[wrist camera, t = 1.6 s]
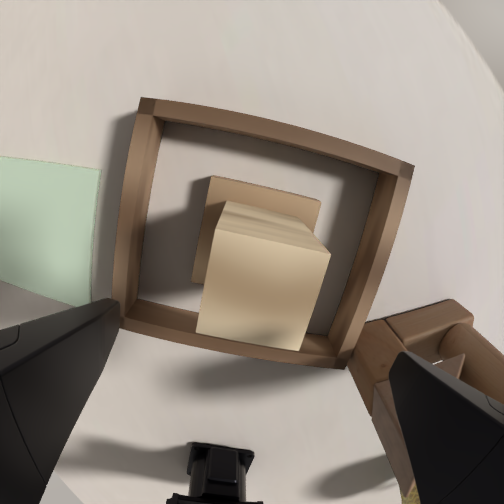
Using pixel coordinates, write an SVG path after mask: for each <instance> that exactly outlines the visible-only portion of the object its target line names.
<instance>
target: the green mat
mask: <svg viewBox="0 0 504 504" xmlns="http://www.w3.org/2000/svg"><path fill="white" fill-rule="evenodd" d="M100 177H101V170H99V169H93V168H86V167H79V166H73V165H66V164H59V163H51V162H44V161H36V160H28V159H20V158H11V157H2V156H0V280H1V281H4V282H6V283H9V284H12V285H14V286H17V287H20V288H22V289H25V290H28V291H31V292H33V293H36V294H39V295H42V296H45V297H48V298H51V299H54V300H57V301H60V302H63V303H66V304H69V305H72V306H75V307H78V306H82V305H85V304H88V303H91V269H92V251H93V237H94V226H95V216H96V207H97V198H98V191H99V183H100Z"/></svg>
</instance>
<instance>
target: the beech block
mask: <svg viewBox="0 0 504 504" xmlns="http://www.w3.org/2000/svg"><path fill="white" fill-rule="evenodd" d="M330 257H331V254H330V252H329V251H328V250H327V249H326V248H325V247H324V246H323V244H322V243H321V242H320V241H319V240H318V239H317V238H316V236H315V235H314V234H313V233H312V232H311V231H310V230H309V229H308V228H307V226H306V225H305V224H304V223H303V222H302V221H301V220H300V219H299V218H298V217H297V216H293V215H289V214H285V213H280V212H276V211H272V210H267V209H263V208H259V207H254V206H250V205H245V204H241V203H236V202H231V201H226V204H225V206H224V209H223V211H222V214H221V216H220V219H219V221H218V224H217V226H216V229H215V233H214V238H213V243H212V248H211V253H210V258H209V263H208V268H207V273H206V278H205V284H204V289H203V294H202V300H201V305H200V311H199V316H198V322H197V328H196V333H200V334H205V335H210V336H215V337H220V338H225V339H230V340H235V341H241V342H246V343H252V344H257V345H263V346H269V347H275V348H282V349H288V350H295V351H299V349H300V347H301V344H302V341H303V338H304V335H305V333H306V330H307V327H308V324H309V321H310V318H311V315H312V312H313V310H314V307H315V304H316V301H317V298H318V295H319V291H320V288H321V285H322V282H323V279H324V276H325V273H326V270H327V266H328V263H329V260H330Z"/></svg>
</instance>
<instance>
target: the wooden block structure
mask: <svg viewBox="0 0 504 504" xmlns="http://www.w3.org/2000/svg"><path fill="white" fill-rule="evenodd" d="M473 321H474V316H473V314H472V313H470V312H469V311H468V310H467V309H465V308H464V307H463V306H462V305H460V304H459V303H458V302H457V301H455V300H454V299H450V300H447V301H444V302H441V303H438V304H434V305H431V306H428V307H424V308H421V309H418V310H414V311H411V312H407V313H404V314H400V315H396V316H393V317H389V318H387V319H386V320H385V321H384V320H376V321H372V322H368V323H365V324H364V326H363V328H362V331H361V333H360V336H359V338H358V340H357V343H356V345H355V347H354V350H353V352H352V354H351V356H350V359H349V361H348V363H347V366H348V368H349V371H350V373H351V375H352V377H353V379H354V381H355V384H356V386H357V388H358V390H359V393H360V395H361V397H362V399H363V401H364V404H365V406H366V408H367V410H368V413H369V414H370V416H371V417H372V422H373V424H374V427H375V429H376V431H377V434H378V436H379V438H380V441H381V443H382V445H383V448H384V450H385V452H386V455H387V457H388V460H389V462H390V464H391V467H392V469H393V472H394V474H395V476H396V479H397V481H398V484H399V486H400V489H401V491H402V494H403V496H404V497H405V498H406V497H408V496H409V494H410V492H411V490H412V489H413V487H414V485H415V479H414V475H413V471H412V467H411V463H410V460H409V456H408V452H407V449H406V445H405V442H404V438H403V435H402V431H401V428H400V425H399V421H398V418H397V414H396V410H395V406H394V401H393V396H392V391H391V386H390V382H389V376H388V375H389V370H390V368H391V366H392V364H393V362H394V361H395V359H396V357H397V355H398V353H399V352H401V351H408V352H412V353H414V354H416V355H417V356H419V357H421V358H423V359H424V360H426V361H428V362H429V363H431V364H432V363H435V362H438V361H441V360H443V361H442V362H440V363H437V364H434V365H435V366H436V367H438V368H440V369H442V370H443V371H445V372H447V373H449V374H450V375H452V376H454V377H456V378H457V379H459V380H461V381H463V382H464V383H466V384H468V385H470V386H471V387H473V388H475V389H477V390H478V391H480V392H482V393H484V394H485V395H487V396H489V397H491V398H492V399H494V400H496V401H498V402H500V403H501V404H503V405H504V355H503V354H502V353H501V352H500V351H498V350H497V349H496V348H495V347H494V346H493V345H492V344H491V343H490V342H489V341H488V340H486V339H485V338H484V337H483V336H482V335H481V334H480V333H479V332H477V331H476V330H475V329H474V328H473Z"/></svg>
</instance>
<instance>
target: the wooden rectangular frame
mask: <svg viewBox="0 0 504 504" xmlns="http://www.w3.org/2000/svg"><path fill="white" fill-rule="evenodd" d="M165 121H169V122H176V123H182V124H188V125H194V126H199V127H205V128H210V129H215V130H221V131H226V132H231V133H235V134H240V135H245V136H249V137H254V138H258V139H262V140H267V141H271V142H275V143H279V144H283V145H287V146H291V147H295V148H298V149H302V150H306V151H309V152H313V153H317V154H320V155H324V156H327V157H331V158H334V159H337V160H341V161H344V162H347V163H350V164H353V165H357V166H360V167H363V168H366V169H369V170H372V171H375V172H378V173H379V176H378V180H377V184H376V188H375V192H374V195H373V199H372V203H371V206H370V210H369V214H368V217H367V221H366V224H365V227H364V231H363V234H362V238H361V241H360V244H359V247H358V251H357V254H356V257H355V260H354V263H353V266H352V269H351V272H350V275H349V278H348V281H347V284H346V287H345V290H344V293H343V296H342V299H341V301H340V304H339V307H338V310H337V312H336V315H335V318H334V321H333V323H332V326H331V329H330V331H329V334H328V336H323V335H316V334H310V333H305V335H304V338H303V341H302V344H301V347H300V349H299V351H295V350H288V349H282V348H275V347H269V346H263V345H257V344H252V343H246V342H241V341H235V340H230V339H225V338H220V337H215V336H210V335H205V334H200V333H196V328H197V322H198V316H199V313H197V312H192V311H187V310H183V309H179V308H174V307H170V306H166V305H161V304H157V303H153V302H149V301H145V300H141V299H137V294H138V283H139V273H140V264H141V255H142V247H143V240H144V232H145V225H146V218H147V212H148V206H149V199H150V193H151V188H152V182H153V177H154V171H155V166H156V161H157V156H158V151H159V146H160V142H161V137H162V132H163V128H164V124H165ZM414 167H415V166H414V165H412V164H409V163H407V162H404V161H401V160H399V159H396V158H394V157H391V156H388V155H386V154H383V153H380V152H377V151H375V150H372V149H369V148H366V147H363V146H360V145H357V144H354V143H351V142H348V141H345V140H342V139H339V138H335V137H332V136H329V135H326V134H322V133H319V132H315V131H312V130H308V129H305V128H301V127H297V126H294V125H290V124H286V123H282V122H278V121H274V120H270V119H266V118H261V117H257V116H252V115H248V114H243V113H239V112H234V111H229V110H224V109H218V108H213V107H207V106H201V105H195V104H189V103H183V102H176V101H169V100H161V99H153V98H144V97H141V99H140V103H139V107H138V111H137V115H136V120H135V124H134V129H133V133H132V138H131V143H130V148H129V153H128V158H127V164H126V170H125V175H124V181H123V188H122V194H121V201H120V209H119V216H118V224H117V233H116V243H115V254H114V266H113V280H112V299H114V300H117V301H119V302H120V326H119V328H121V329H124V330H128V331H132V332H136V333H139V334H143V335H147V336H151V337H155V338H159V339H163V340H168V341H172V342H176V343H181V344H185V345H190V346H194V347H199V348H204V349H209V350H214V351H219V352H224V353H229V354H235V355H240V356H246V357H252V358H258V359H264V360H270V361H277V362H284V363H291V364H298V365H306V366H314V367H323V368H332V369H342V370H344V369H345V367H346V365H347V363H348V361H349V359H350V356H351V354H352V352H353V350H354V347H355V345H356V343H357V340H358V338H359V336H360V333H361V331H362V328H363V326H364V324H365V321H366V319H367V316H368V314H369V311H370V309H371V306H372V303H373V301H374V298H375V295H376V293H377V290H378V287H379V285H380V282H381V279H382V276H383V273H384V271H385V268H386V265H387V262H388V259H389V256H390V253H391V250H392V247H393V243H394V240H395V237H396V234H397V230H398V227H399V224H400V220H401V217H402V213H403V210H404V206H405V203H406V199H407V195H408V191H409V187H410V184H411V179H412V175H413V171H414ZM226 201H231V202H236V203H241V204H245V205H250V206H254V207H259V208H263V209H267V210H272V211H276V212H280V213H285V214H289V215H293V216H297V217H298V218H299V219H300V220H301V221H302V222H303V223H304V224H305V225H306V226H307V228H308V229H309V230H310V231H311V232H312V233H313V232H314V228H315V225H316V221H317V217H318V213H319V210H320V206H321V202H320V201H319V200H317V199H314V198H310V197H306V196H302V195H298V194H294V193H290V192H286V191H282V190H278V189H273V188H269V187H265V186H260V185H256V184H252V183H247V182H243V181H238V180H234V179H229V178H224V177H219V176H215V175H213V176H211V180H210V185H209V189H208V194H207V199H206V204H205V209H204V214H203V219H202V224H201V229H200V234H199V239H198V244H197V250H196V255H195V261H194V266H193V272H192V278H191V282H194V283H199V284H203V285H204V284H205V278H206V273H207V268H208V263H209V258H210V253H211V248H212V243H213V238H214V233H215V229H216V226H217V224H218V221H219V219H220V216H221V214H222V211H223V209H224V206H225V204H226Z"/></svg>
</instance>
